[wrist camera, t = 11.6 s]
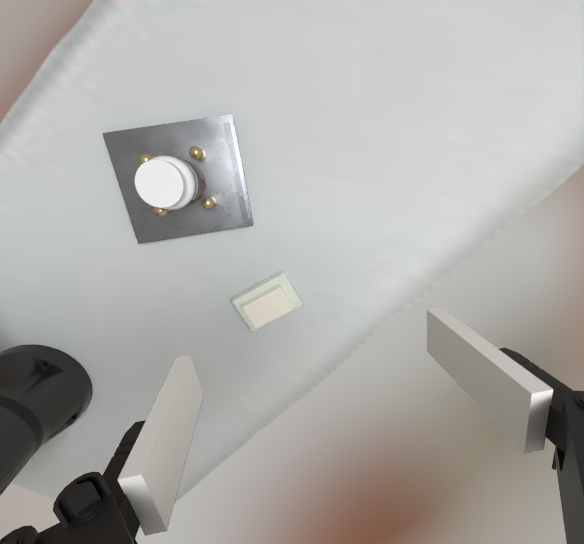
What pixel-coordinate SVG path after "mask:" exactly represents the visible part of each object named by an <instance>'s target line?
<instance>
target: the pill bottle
mask: <svg viewBox="0 0 584 544" xmlns="http://www.w3.org/2000/svg"><path fill="white" fill-rule="evenodd" d="M135 187H136V190H137V192H138V194H139V195H140V197H141V198H142V199H143V200H144V201H145V202H146V203H148V204H149V205H151V206H154V207H158V208H163V209H167V210H175V209H180V208H182V207H185V206H188V205H191V204H193V203H195V202H197V201H198V200H199V199H200V198H201V197H202V195H203V193H204V190H205V179H204V176H203V174H202V172H201V170H200V169H199V168H198V167H197V166H196V165H195V164H193V163H192V162H190V161H187V160H183V159H179V158H175V157H170V156H158V157H155V158H153V159H151V160H149V161H146V162H145V163H143V164H142V165H141V166H140V167H139V168H138V170H137V172H136V174H135Z"/></svg>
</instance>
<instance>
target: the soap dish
mask: <svg viewBox="0 0 584 544" xmlns="http://www.w3.org/2000/svg"><path fill="white" fill-rule="evenodd" d="M232 303H233V304H234V305H235V307H236V308H237V310H238V311H239V313H240V314H241V316H242V317H243V319H244V320H245V322H246V323H247V325H248V326H249V327H250V329H251V330H252V332H253V331H255V330H257V329H259V328H261V327H263V326H264V325H266V324H268V323H270V322H272V321H274V320H276V319H277V318H279V317H281V316H283V315H285V314H287V313H289V312H290V311H292V310H294V309H296V308H298V307H300V306H302V305H303V303H302V300H301V299H300V297H299V295H298V294H297V292H296V290H295V288H294V287H293V285H292V283H291V282H290V280H289V278H288V277H287V275H286V273H285V271H284V270H282V271H280V272H278V273H277V274H275V275H273V276H271V277H269V278H267V279H266V280H264V281H262V282H260V283H258V284H256V285H255V286H253V287H251V288H249V289H247V290H246V291H244V292H242V293H240V294H238V295H236V296H235V297H233V299H232Z"/></svg>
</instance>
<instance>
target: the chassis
mask: <svg viewBox="0 0 584 544" xmlns="http://www.w3.org/2000/svg"><path fill="white" fill-rule="evenodd" d="M103 137H104V140H105V143H106V146H107V149H108V152H109V155H110V158H111V161H112V164H113V167H114V170H115V174H116V177H117V180H118V183H119V186H120V189H121V192H122V195H123V198H124V201H125V204H126V207H127V210H128V214H129V217H130V220H131V223H132V226H133V229H134V232H135V235H136V238H137V241H138V244H140V243H146V242H152V241H158V240H164V239H170V238H176V237H182V236H189V235H195V234H201V233H207V232H213V231H219V230H225V229H232V228H238V227H244V226H250V225H253V219H252V213H251V208H250V203H249V198H248V192H247V187H246V182H245V177H244V171H243V166H242V161H241V155H240V150H239V145H238V140H237V134H236V129H235V124H234V119H233V115H225V116H218V117H211V118H204V119H197V120H190V121H183V122H176V123H170V124H163V125H156V126H149V127H142V128H135V129H128V130H121V131H114V132H107V133H103ZM158 156H170V157H175V158H179V159H183V160H187V161H190V162H192V163H193V164H195V165H196V166H197V167H198V168H199V169H200V170H201V172H202V174H203V176H204V179H205V190H204V193H203V195H202V197H201V198H200V199H199V200H198V201H197V202H195V203H193V204H191V205H188V206H185V207H182V208H180V209H175V210H167V209H163V208H158V207H154V206H151V205H149V204H148V203H146V202H145V201H144V200H143V199H142V198H141V197H140V195H139V194H138V192H137V190H136V187H135V174H136V172H137V170H138V168H139V167H140V166H141V165H142V164H143V163H145V162H146V161H149V160H151V159H153V158H155V157H158Z"/></svg>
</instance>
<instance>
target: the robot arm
mask: <svg viewBox="0 0 584 544" xmlns="http://www.w3.org/2000/svg"><path fill="white" fill-rule="evenodd" d="M427 351H428V353H429V354H430V355H431V356H432V357H433V358H434V359H435V360H436V361H437V362H438V363H439V364H440V365H441V367H443V369H444V370H445V371H446V372H447V373H448V374H449V375H450V376H451V377H452V378H453V379H454V380H455V381H456V382H457V383H458V385H460V386H461V388H462V389H463V390H464V391H465V392H466V393H467V394H468V395H469V396H470V397H471V398H472V399H473V400H474V401H475V403H477V405H478V406H479V407H480V408H481V409H482V410H483V411H484V412H485V413H486V414H487V415H488V416H489V417H490V418H491V419H492V420H493V422H495V424H496V425H497V426H498V427H499V428H500V429H501V430H502V431H503V432H504V433H505V434H506V435H507V436H508V437H509V438H510V440H511V441H513V443H514V444H515V445H516V446H517V447H518V448H519V449H520V450H521V451H522V452H523V453H524V454H525V453H530V452H535V451H540V450H544V445H545V439H546V437H547V438H548V439H549V440H550V441H551V442H552V443H553V444H554V445H555V446H556V448H555V453H554V459H553V464H552V469H555V470H556V468H557V475H558V482H559V489H560V497H561V504H562V511H563V519H564V526H565V533H566V540H567V544H584V391H573V390H571V389H570V388H569V387H567V386H566V385H564V384H563V383H561V382H560V381H558V380H557V379H555V378H554V377H552V376H551V375H550V374H548V373H547V372H545V371H544V370H542V369H539V367H538V366H536V365H535V364H534V363H532V362H530V361H529V360H528V359H526V358H525V357H523V356H522V355H521V354H519V353H517V352H514V351H512V350H509V349H507V348H501V349H497V348H496V347H495V346H493V345H491V344H490V343H489V342H488V341H486V340H485V339H484V338H482V337H481V336H480V335H478V334H477V333H475V332H474V331H473V330H471V329H470V328H468V327H467V326H466V325H464V324H463V323H462V322H460V321H459V320H458V319H456V318H455V317H453V316H452V315H451V314H449V313H448V312H447V311H445V310H444V309H442V308H441V307H437V308H432V309H427ZM91 396H92V385H91V381H90V379H89V376H88V374H87V373H86V371H85V370H84V368H83V367H82V366H81V365H80V364H79V363H78V362H77V361H76V360H74V359H73V358H72V357H70V356H69V355H67V354H65V353H63V352H61V351H59V350H56V349H53V348H50V347H46V346H40V345H22V346H17V347H13V348H10V349H8V350H6V351H4V352H2V353H1V354H0V495H1V494H2V493H3V491H4V490H5V489H6V488H7V486H8V485H9V484H10V483H11V482H12V480H13V479H14V478H15V477H16V476H17V474H18V473H19V472H20V471H21V469H22V468H23V467H24V466H25V465H26V463H27V462H28V461H29V460H30V458H31V457H32V456H33V455H34V453H35V452H36V451H37V450H38V449H39V447H40V446H42V445H43V444H45V443H46V442H47V441H49V440H50V439H52V438H53V437H55V436H56V435H57V434H59V433H60V432H62V431H63V430H65V429H66V428H67V427H69V426H70V425H72V424H73V423H74V422H75V421H76V420H77V419H78V418H79V417H80V415H81V414H82V413H83V412H84V410H85V409H86V408H87V406H88V404H89V403H90V400H91ZM203 397H204V395H203V392H202V389H201V386H200V383H199V380H198V376H197V373H196V370H195V367H194V364H193V361H192V358H191V355H187V356H182V357H177V358H176V359H175V361H174V363H173V365H172V368H171V370H170V372H169V374H168V376H167V378H166V380H165V382H164V384H163V386H162V388H161V390H160V392H159V394H158V397H157V399H156V401H155V403H154V405H153V407H152V409H151V411H150V413H149V415H148V417H147V419H146V420H145V421H140V422H135V423H134V424H133V426H132V427H131V428H130V429H129V430H128V431H127V432H126V433H125V435H124V437H123V438H122V440H121V442H120V444H119V447H118V448H117V450H116V451H115V453H114V457H112V459H111V461H110V463H109V464H108V466H107V468H106V470H105V472H104V474H103V476H102V475H101V474H100V473H99V472H90V473H87V474H84V475H82V476H80V477H78V478H76V479H75V480H73V481H72V482H71V483H70V484H69V485H67V486H66V487H65V488H64V489H63V491H62V492H61V493H60V494H59V495H58V497H57V499H56V501H55V503H54V508H53V511H54V513H55V515H56V516H57V518H58V519H59V521H60V523H58V524H56V525H54V526H52V527H50V528H48V529H46V530H44V531H42V532H40V533H38V532H37V530H36V529H35V528H34V527H32V526H23V527H21V528H19V529H16V530H14V531H12V532H11V533H9V534H8V535H6V536H5V537H3V538H2V539H1V540H0V544H137V542H136V540H135V537H136V534H137V531H138V528H139V526H141V528H142V530H143V532H144V534H145V535H150V534H154V533H159V532H163V531H167V529H168V525H169V522H170V518H171V514H172V510H173V507H174V503H175V500H176V496H177V492H178V489H179V485H180V481H181V478H182V474H183V470H184V467H185V463H186V459H187V456H188V452H189V448H190V445H191V441H192V437H193V434H194V430H195V426H196V423H197V419H198V415H199V411H200V408H201V404H202V400H203Z"/></svg>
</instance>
